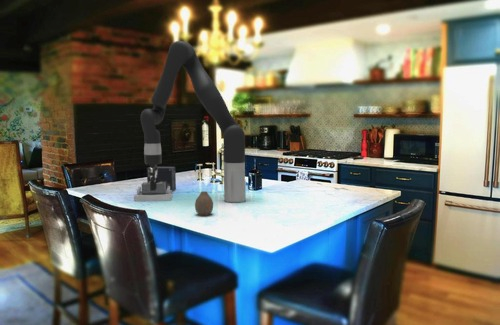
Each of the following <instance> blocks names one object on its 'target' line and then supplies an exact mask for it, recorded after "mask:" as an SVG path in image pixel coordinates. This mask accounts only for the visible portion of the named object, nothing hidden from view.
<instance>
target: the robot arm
mask: <svg viewBox="0 0 500 325" xmlns="http://www.w3.org/2000/svg"><path fill="white" fill-rule="evenodd" d="M168 49H169V50H168V52H167V56H166V60H165V64H164V66H163V70H162V73H161V75H160V78H159V81H158V83H157V85H156V87H155V90H154V92H153V94H152V97H151V99H150V101H151V104H153V106H152V108H145V109H144V110H142V111H141V113H140V124H141V128H142V132H143V135H144V137H143V138H144V147H143V150H144V151H143V155H144V158H143V159H144V164H145V165H147V166H148V165H149V167H150V168H149V167H148V168H149V169H148V171H149V182H150V190H151V191H155V182H157V178H158V168H157V167H159V166H158V165H161V164H162V162H163V161H162V158H163V157H162V146H161V133H160V131H159V130H158V129H157V128H156V125H160V124H161V123H162V121H163V120H164V118H165V114H166V111H167V110H166V109H167V104H168V102H169V100H170V99H171V96H172V93H173V91H174V86H175V82H176V78H177V76H178V73H179V71H180V69H181V67H183V68H184V71H185V72H186V73H187V75H188V76H189V79H190V82H191V84H192V88H193V91H194V93H195V95H196V97H197V99H198V100H199V102H200V103H201V105H202V106H203V108H204V109H205V110H206V112H207V113H208V114H209V115H210V116H211V117H212V119H213V120H214V121H215V122H216V124H217V125H218V128H219V129H220V131H221V133H222V136H223V190H224V191H223V198H224V199H223V201H224V202H227V203H241V202H242V203H243V202H246V201H247V200H246V194H247V193H246V192H247V191H246V188H247V187H246V183H247V182H246V165H245V164H246V134H245V131H244V129H243V128H242V127H241V126H240V125H239V123H238V122H236V120H235V118H234V117H233V116H232V114H231V112H230V111H229V108H228V105H227V104H226V102H225V100H224V98H223V96H222V94H221V92H220V91H219V89H218V87H217V86H216V84H215V83H214V81H213V80H212V78H211V77H210V75H209V74H208V73H207V71H206V69H205V68H204V66H203V65H202V63H201V62H200V59H199V56H198V55H197V53H196V50H195V49H194V47H193V45H192V44H190V43H189V42H187V41H184V40H183V41H182V40H176V41H174V42H173V43H171V44H170V46H169V48H168ZM151 178H152V179H151Z"/></svg>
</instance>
